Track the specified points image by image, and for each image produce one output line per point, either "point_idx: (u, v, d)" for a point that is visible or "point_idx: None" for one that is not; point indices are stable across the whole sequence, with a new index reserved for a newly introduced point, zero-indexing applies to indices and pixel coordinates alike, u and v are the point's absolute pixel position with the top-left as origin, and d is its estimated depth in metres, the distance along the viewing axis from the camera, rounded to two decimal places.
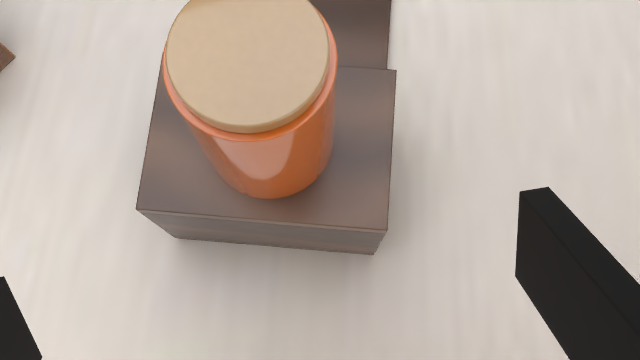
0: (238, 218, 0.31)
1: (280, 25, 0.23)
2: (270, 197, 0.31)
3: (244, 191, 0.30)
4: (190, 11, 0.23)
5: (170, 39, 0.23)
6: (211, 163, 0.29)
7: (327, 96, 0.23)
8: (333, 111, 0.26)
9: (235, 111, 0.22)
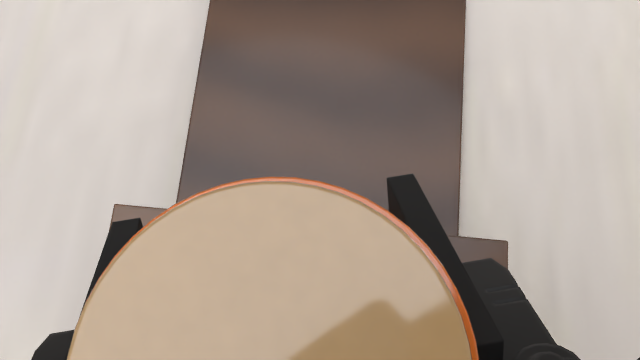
0: None
1: (350, 312, 0.09)
2: None
3: None
4: (130, 270, 0.09)
5: (77, 348, 0.09)
6: None
7: None
8: None
9: None
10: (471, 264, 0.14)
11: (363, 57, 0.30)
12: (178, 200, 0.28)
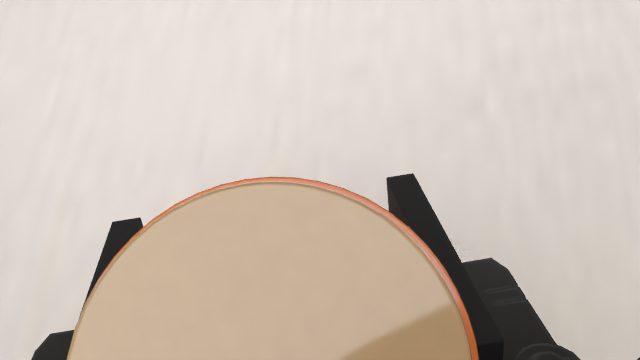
0: None
1: (350, 313, 0.09)
2: None
3: None
4: (130, 270, 0.09)
5: (77, 349, 0.09)
6: None
7: None
8: None
9: None
10: (471, 264, 0.14)
11: None
12: None
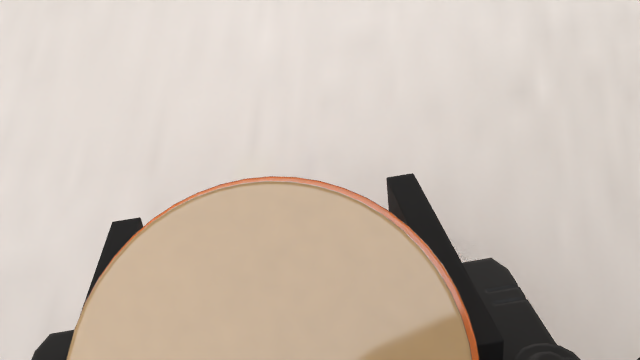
0: None
1: (350, 312, 0.09)
2: None
3: None
4: (130, 270, 0.09)
5: (77, 348, 0.09)
6: None
7: None
8: None
9: None
10: (471, 264, 0.14)
11: None
12: None
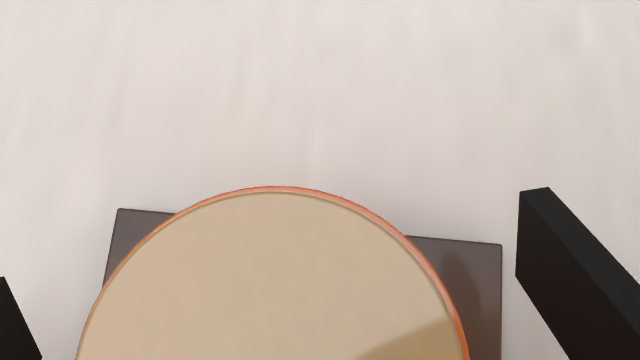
0: None
1: (346, 317, 0.10)
2: None
3: None
4: (135, 276, 0.10)
5: (85, 352, 0.09)
6: None
7: None
8: None
9: None
10: None
11: None
12: None
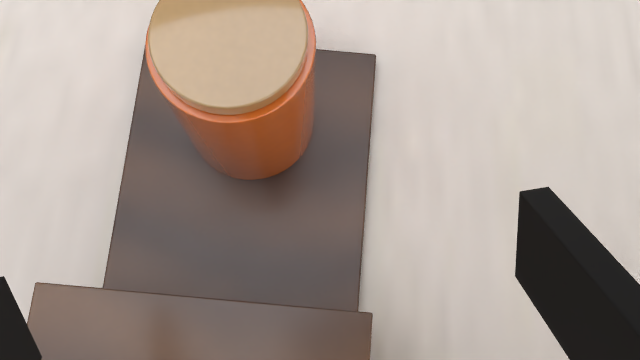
0: None
1: (260, 10, 0.23)
2: (251, 178, 0.31)
3: (226, 172, 0.31)
4: None
5: (153, 22, 0.23)
6: (194, 144, 0.29)
7: (305, 79, 0.24)
8: (312, 94, 0.27)
9: (216, 92, 0.22)
10: None
11: None
12: (110, 254, 0.31)
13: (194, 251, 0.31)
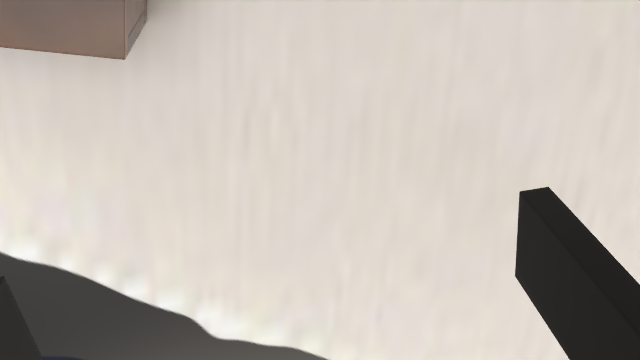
0: None
1: None
2: None
3: None
4: None
5: None
6: None
7: None
8: None
9: None
10: None
11: None
12: None
13: None
